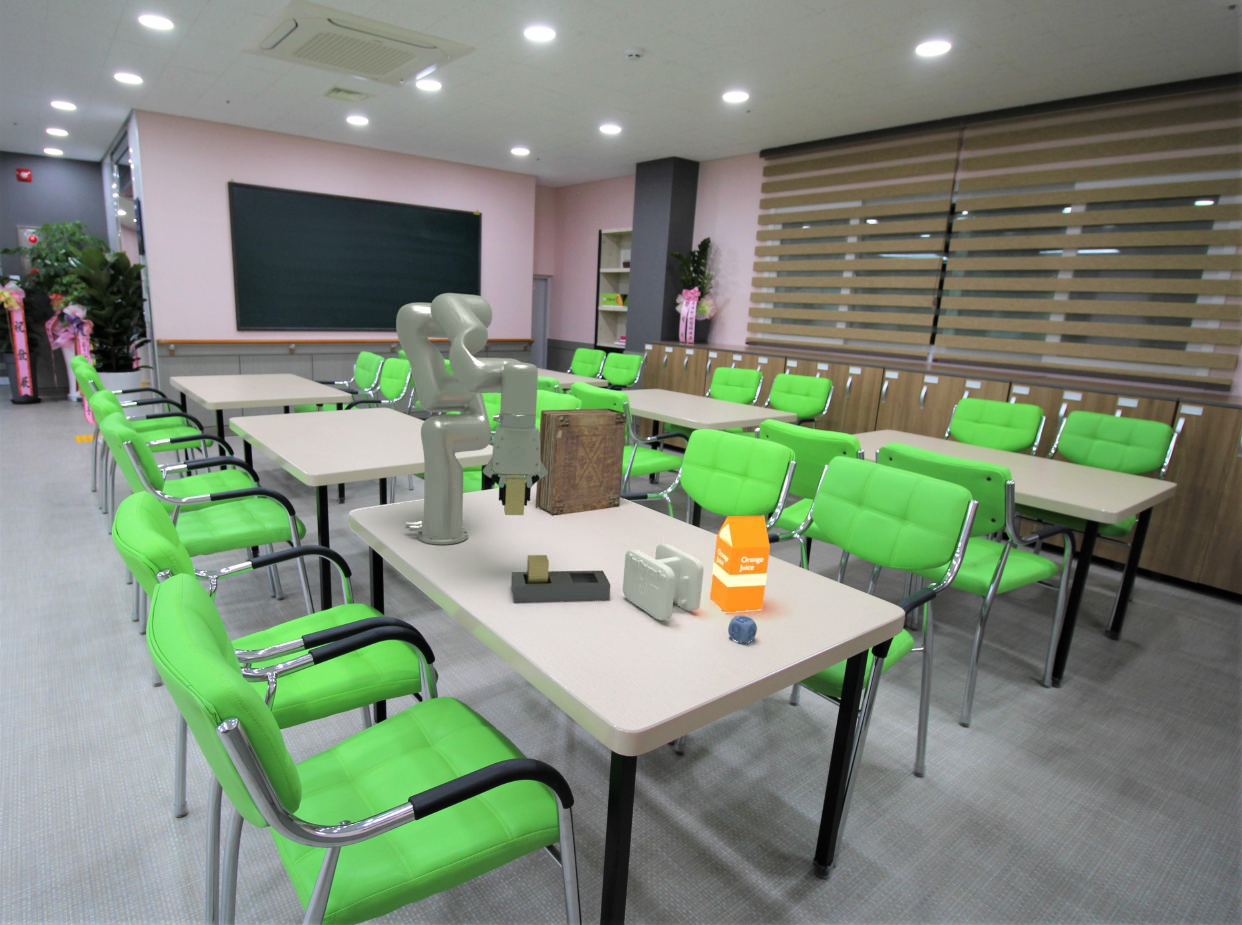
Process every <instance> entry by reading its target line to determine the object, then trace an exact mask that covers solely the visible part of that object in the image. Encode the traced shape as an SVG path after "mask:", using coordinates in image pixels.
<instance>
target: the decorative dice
mask: <svg viewBox="0 0 1242 925" xmlns="http://www.w3.org/2000/svg"><path fill="white" fill-rule="evenodd" d="M757 630H758V625H757V623H756V622H755V620H754V619H753V618H751V617H749V616H748V615H747V616H746V615H735V616H734V617H733V618H731V620H730V621H729V625H728V630H727V632H728V635H729V637H730V639H731V638H732V639H734V640H736V641H738V642H741V643H740V644H742V643H747V644H749V643H748V642H749V641H751V640H752V641H754V639H755V637H756V636H757Z"/></svg>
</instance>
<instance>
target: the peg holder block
mask: <svg viewBox="0 0 1242 925" xmlns="http://www.w3.org/2000/svg"><path fill="white" fill-rule="evenodd" d="M549 568H550V561H549V558H548V555H547V554H536V555H535V554H529V555H527V563H526V571H511V578H510V579H511V581H510V582H511V584H510V586H511V587H510V589H511V592H512V593H511V595H512V594H513V595H512V601H513V603H514V604H515V603H516V604H520V602H521V603H522V604H523V602H524V604H525V603H553V602H554V601H555V602H557V601H558V602H559V601H563V602H591V601H592V602H594V601H595V600H596V601H595V602H597V600H598V602H599V600H601V601H610V596H611V583H610V581H609V580H608V577H607V575H606V574H605V572H604V570H556V571H555V570H551V571H549ZM593 600H594V601H593ZM555 602H554V603H555ZM558 602H557V603H558Z"/></svg>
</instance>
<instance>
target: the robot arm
mask: <svg viewBox="0 0 1242 925" xmlns="http://www.w3.org/2000/svg"><path fill="white" fill-rule="evenodd" d="M492 310H493V309H492V307H491V305H490V303H489V302H488V300H487V299H486V298H484V297H483V296H480V295H476V294H467V293H466V294H465V293H454V292H453V293H452V292H447V293H441V294H438V295H437V296H435V298H434V299H433V300H432V302H411V303H407V304H404V305H403V306H401V307H400V308H399V309H398V312H397V314H396V318H395V319H396V320H395V322H396V323H395V324H396V325H395V327H396V334H397V339H398V342H399V344H400V347H401V348H402V350H403V352H404V354H405V357H406V359H407V361H408V363H409V366H410V369H411V370H410V371H411V374H412V379H413V384H414V388H415V392H416V394H417V398H418V402H419V404H420V407H421V408H422V409H423V411H425V412H428V413H429V412H430V413H449V414H436V415H433V416H430V417H428V418H426V419H425V420H424V422H422V424H421V427H420V438H421V443H422V444H421V445H422V450H423V459H424V460H423V462H424V463H423V464H424V471H423V472H424V473H423V474H424V476H423V477H424V493H423V495H424V496H423V517H422V519H418V520H417V521H414V520H406V521H405V525H404V526H405V527H404V528H405V529H409V531H417V535H416V536H417V539H418V540H420V542H423V543H427V544H430V545H442V546H443V545H453V544H454V545H455V544H459V543H462V542H463V541H466V540H467V539H468V538H469V531H468V530H467V529H465V528H463V512H464V511H463V510H464V506H463V504H464V468H463V465H462V464H461V462H460V461H459V460H458V458H457V457H456V456H457V455H456V453H463V452H464V453H465V452H473V451H474V452H476V451H481V450H484V449H486V448H487V447H488V446H489V445H490V444H491V439H492V430H491V423H490V420H489V419H490V418H489V416H488V412H487V408H486V404H485V400H484V397H483V394H495V393H496V394H500V405H499V406H500V407H499V408H500V409H499V413H497V414H493V417H492V422H496V423H498V424H499V425H497V426H496V428H495V432H494V439H493V443H492V445H493V446H492V454H491V455H492V456H491V458H490V460H489V461H488V462H487V464H486V465H485V466H484V468H483V469H482V473H483V474H484V475H485V476H486V477H488V478H490V479H491V480H492V481H493V482H495V483H496V485H497V486H498V488H499V489H498V501H500V502H501V506H504V505H505V500H506V486H505V480H506V475H524V477H525V499H524V507H525V506H528V502H530V501H531V490H532V487H533V486H534V485H535V484H537V481H538V480H539V479H541V478H543V477H544V476H546V475H547V474H548V472H547V470H546V468H545V467H544V465H543V463H542V462H541V446H540V428H538V427H537V426H536V424H537V423H536V420H537V399H538V398H537V397H538V395H537V394H538V382H539V381H538V380H539V371H538V370H539V369H538V367H537V365H535V364H533V363H528V362H522V361H520V360H518V359H515V358H504V357H503V358H500V357H475V356H474V355H475V354H476V353H478V352H480V351H481V350H482V349H483V348H484V347H485V346H486V344H487V342H488V338H489V333H488V328H489V327H490V325H491V323H492V321H493V311H492ZM429 338H434V339H436V338H437V339H439V338H440V339H447V340H449V342H450V344H451V345H450V348H449V352H448V354H449V355H448V360H449V366H450V370H451V372H452V374H451V373H449V372H448V369H447V366H446V362H445V358H444V356H443V355H442V352H441V351H440V350H439V349H438V348H437V346H435V344H433V343H432V342H431V341H430V340H429ZM452 412H453V413H455V412H456V413H455V414H452ZM458 412H459V413H458ZM450 413H451V414H450Z"/></svg>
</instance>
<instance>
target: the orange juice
mask: <svg viewBox="0 0 1242 925" xmlns="http://www.w3.org/2000/svg"><path fill="white" fill-rule="evenodd" d="M766 524H767V523H766V519H765V515H743V516H742V515H741V516H735V515H734V516H731V515H729V516H727V517H726V519H725V521H724V522H723V524H722V526H721V527H720V530H719V532H718V533H717V535H716V541H715V542H716V543H715V551H714V559H713V567H712V576H711V577H712V578H711V586H710V595H709V596H710V597H709V599H710V598H711V599H710V600H711V601H712V600H713V601H714V602H715V603H716V604H717V605H718V606H719V607H720V608H721V609H722V610H723V611H724V612H736V611H746V610H758V609H762V610H763V606H764V605H763V603H764V598H765V596H764V595H765V590H766V586H767V584H766V583H767V577H768V565H769V560H770V558H769V557H770V553H771V552H770V549H771V546H770V541H769V535H768V531H767V525H766ZM713 601H712V602H713ZM714 602H713V603H714ZM715 603H714V604H715ZM716 604H715V605H716Z"/></svg>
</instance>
